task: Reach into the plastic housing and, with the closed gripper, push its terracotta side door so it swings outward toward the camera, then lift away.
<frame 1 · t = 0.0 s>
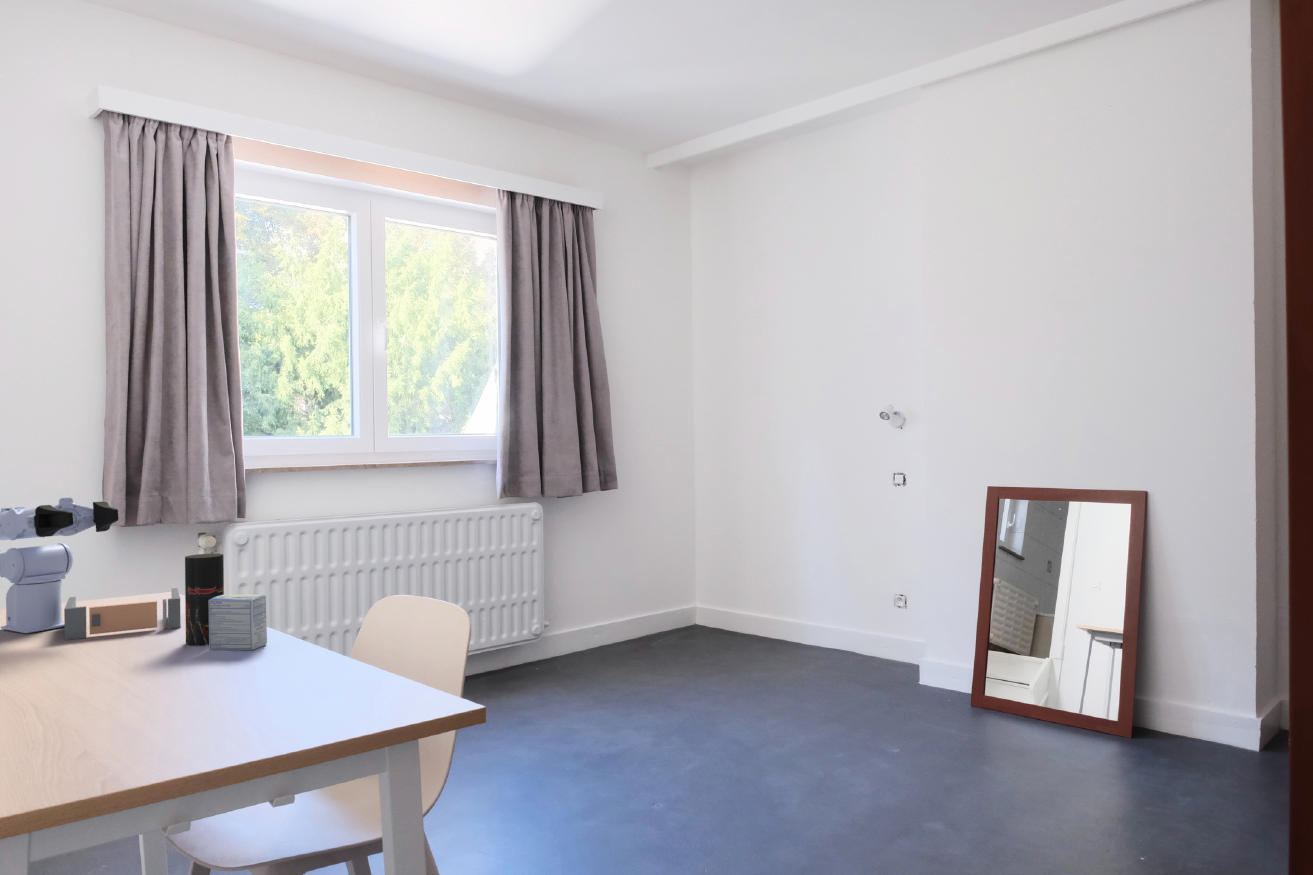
hand: (94, 516, 154), 22 cm above the table, tool horizontal, fingers open, 7 cm apart
medicine box: (238, 648, 146), on the table
housing: (124, 626, 163), on the table
door: (123, 617, 158), point 3 cm above the table, hinge at 0.0°
deodorant: (205, 643, 150), on the table
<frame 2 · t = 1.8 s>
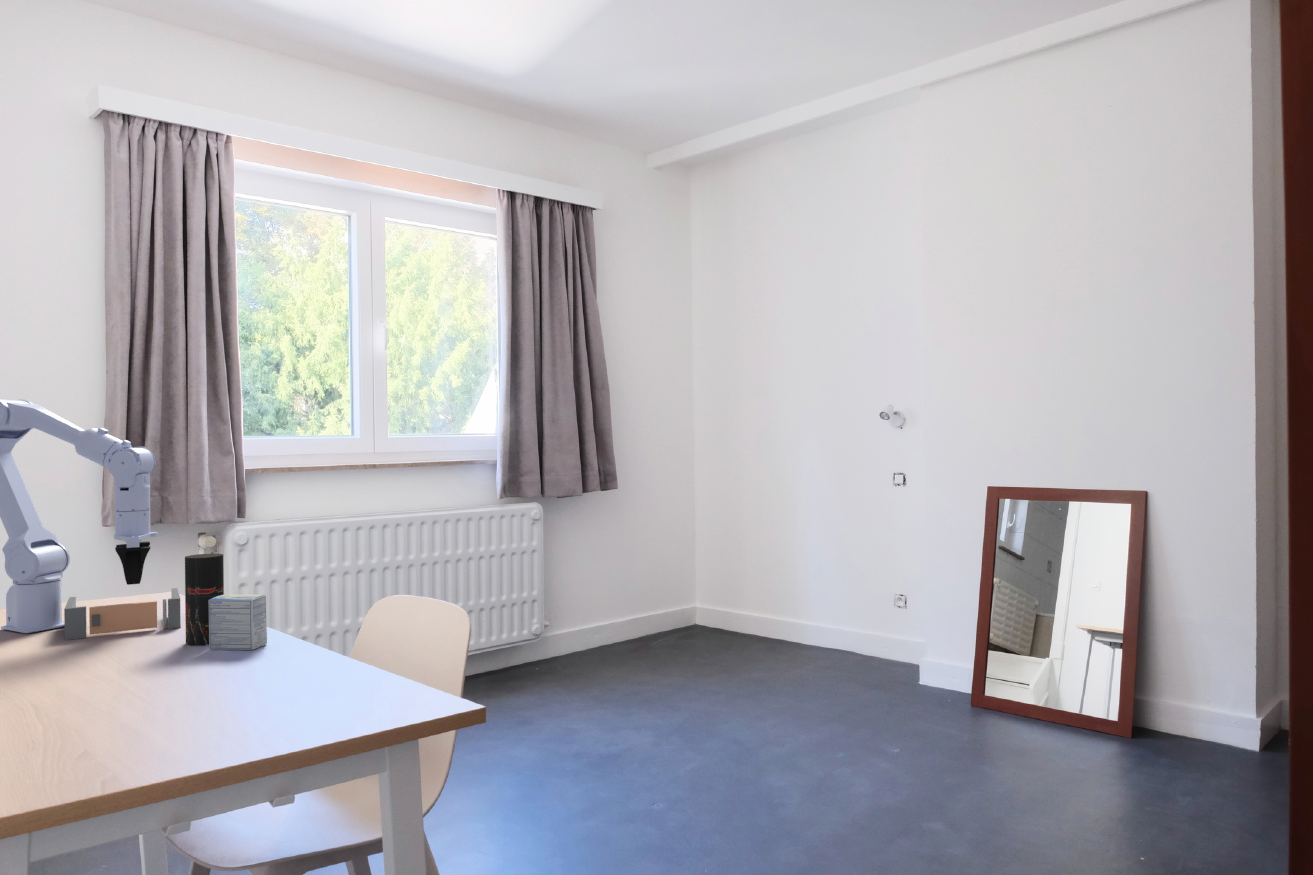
hand: (133, 582, 164), 8 cm above the table, tool pointing down, fingers open, 5 cm apart
nothing on the table moved.
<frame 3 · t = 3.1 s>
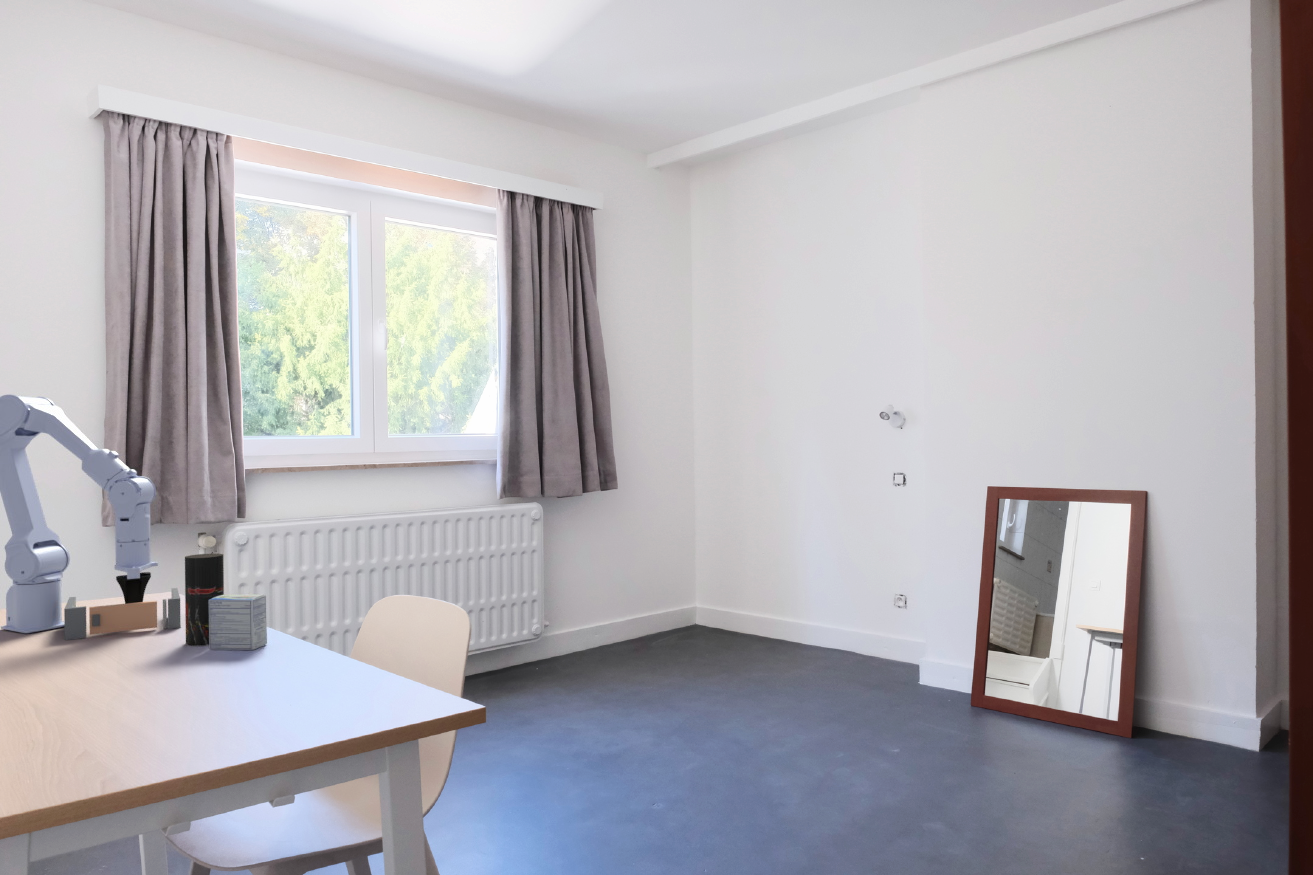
hand: (134, 612, 164), 3 cm above the table, tool pointing down, fingers closed
nothing on the table moved.
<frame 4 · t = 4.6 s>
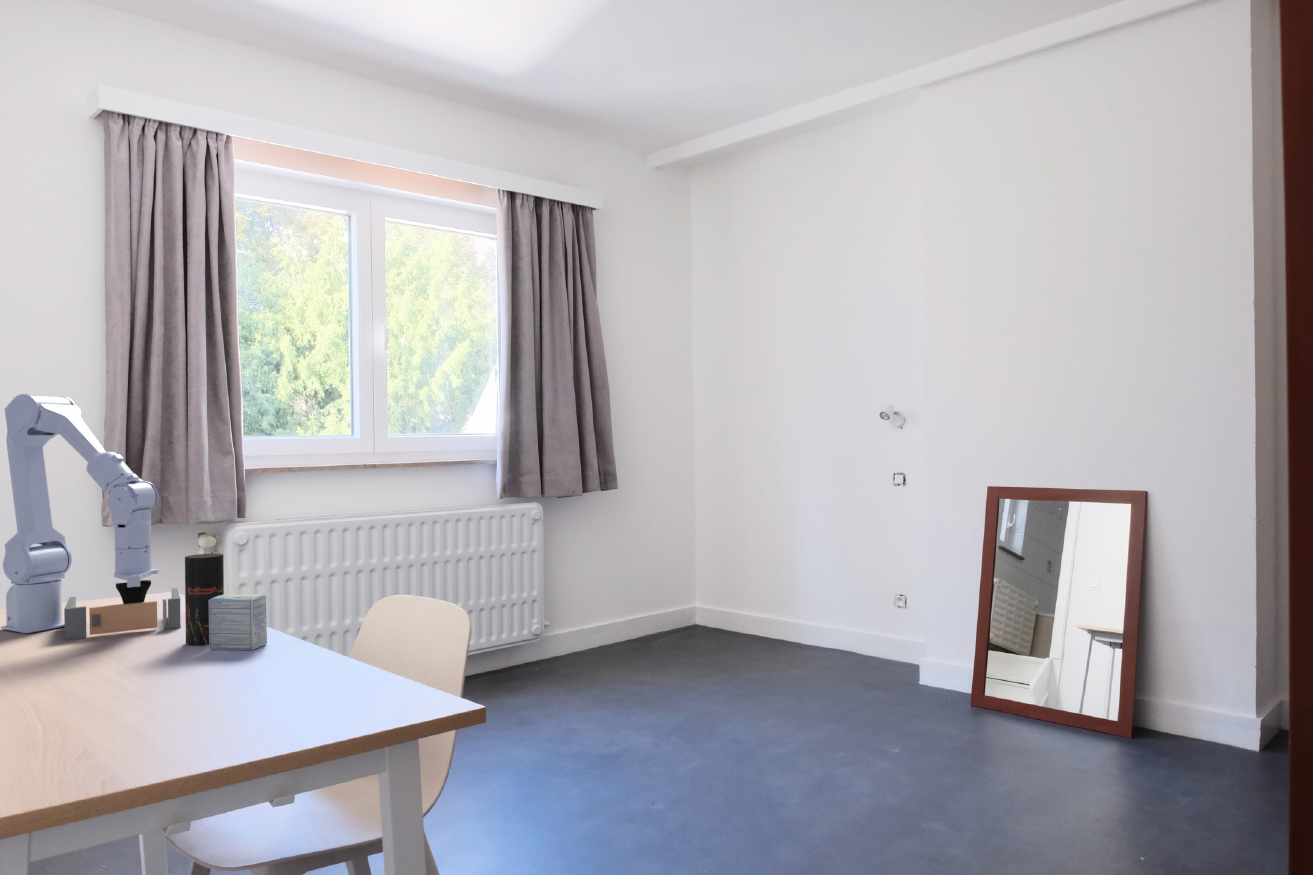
hand: (133, 620, 159), 2 cm above the table, tool pointing down, fingers closed, pressing on door
door: (123, 617, 157), point 3 cm above the table, hinge at 1.9°, touching gripper
everything else where it was.
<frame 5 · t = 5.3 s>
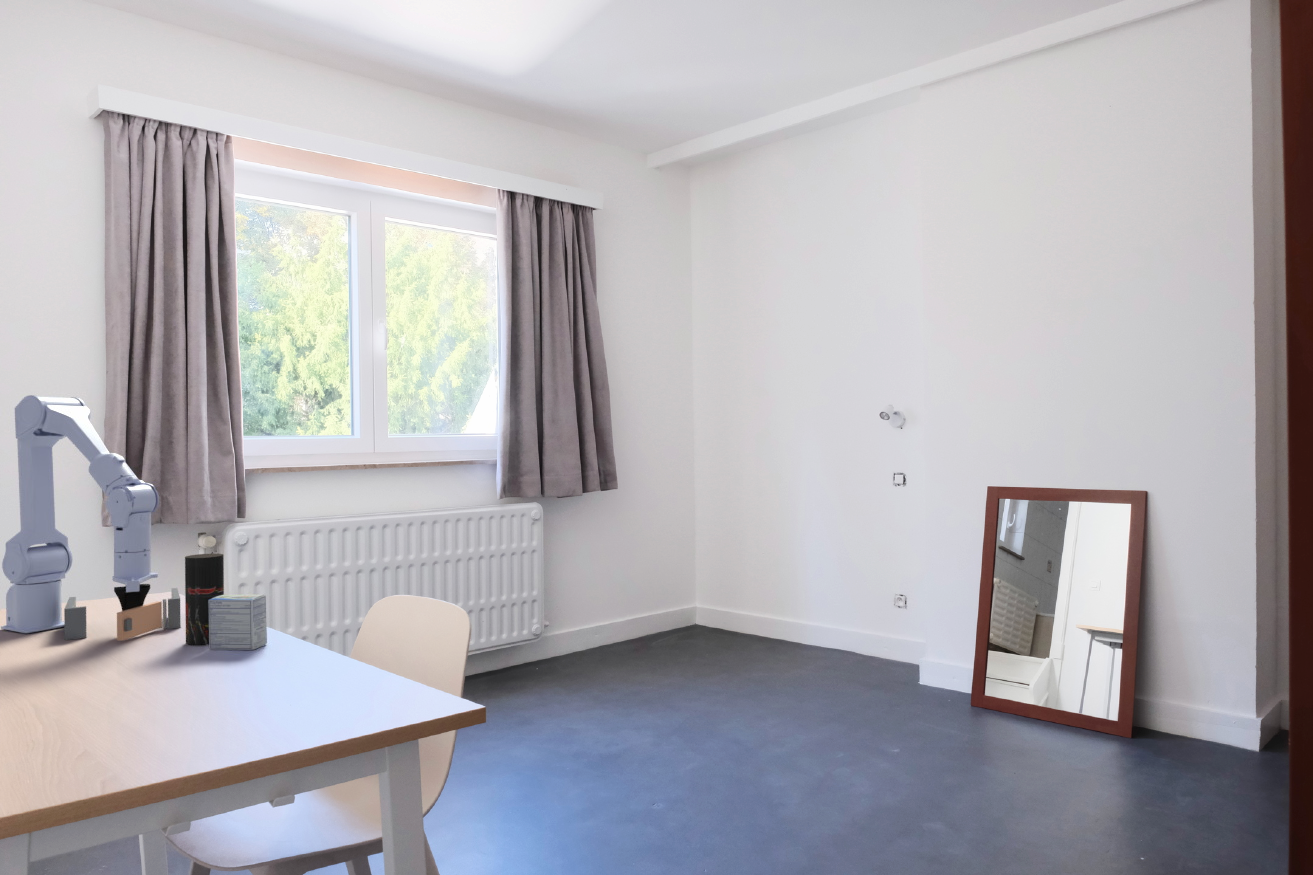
hand: (132, 625, 156), 2 cm above the table, tool pointing down, fingers closed, pressing on door
door: (141, 620, 155), point 3 cm above the table, hinge at 54.5°, touching gripper
everything else where it was.
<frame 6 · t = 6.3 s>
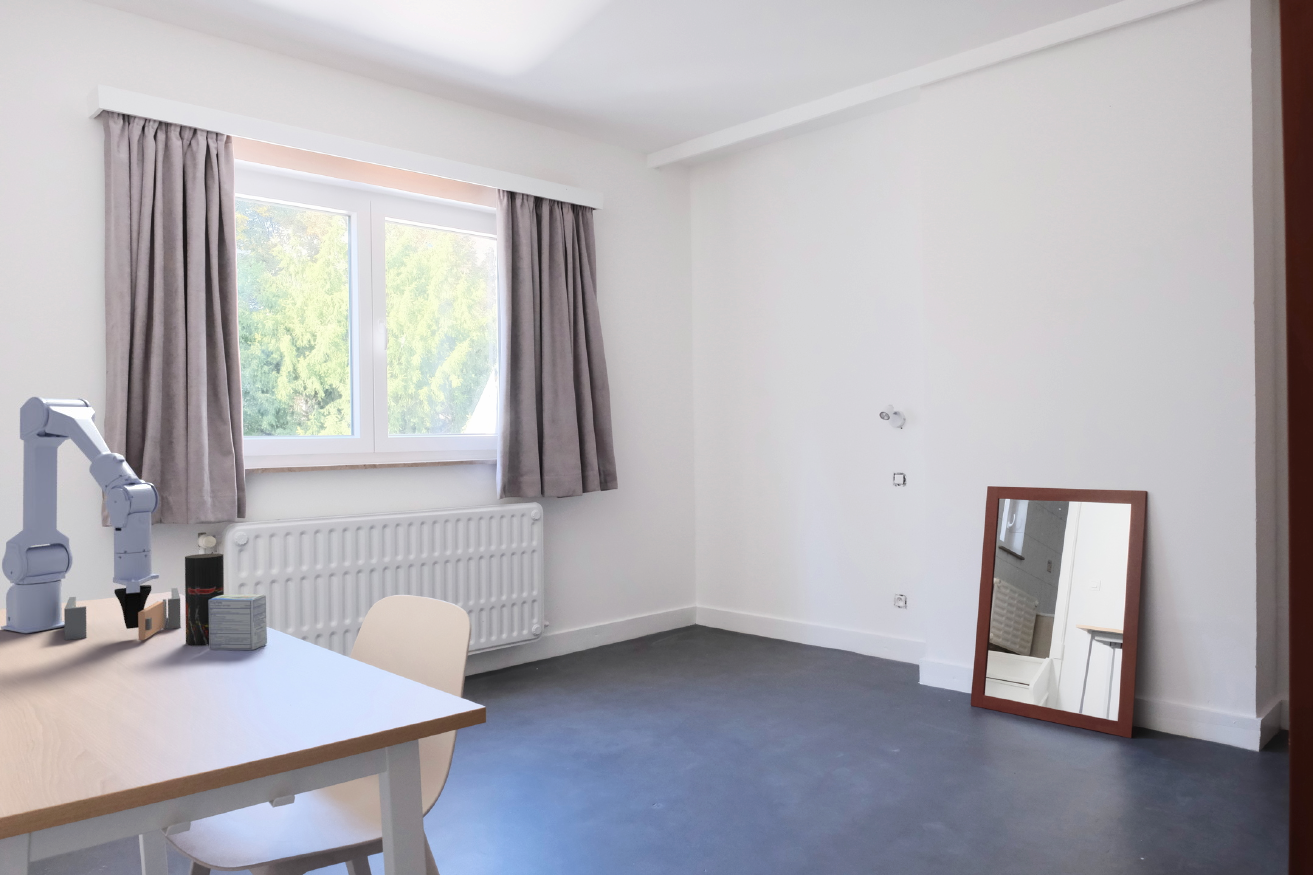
hand: (133, 627, 154), 2 cm above the table, tool pointing down, fingers closed
door: (153, 619, 155), point 3 cm above the table, hinge at 72.9°, touching gripper
everything else where it was.
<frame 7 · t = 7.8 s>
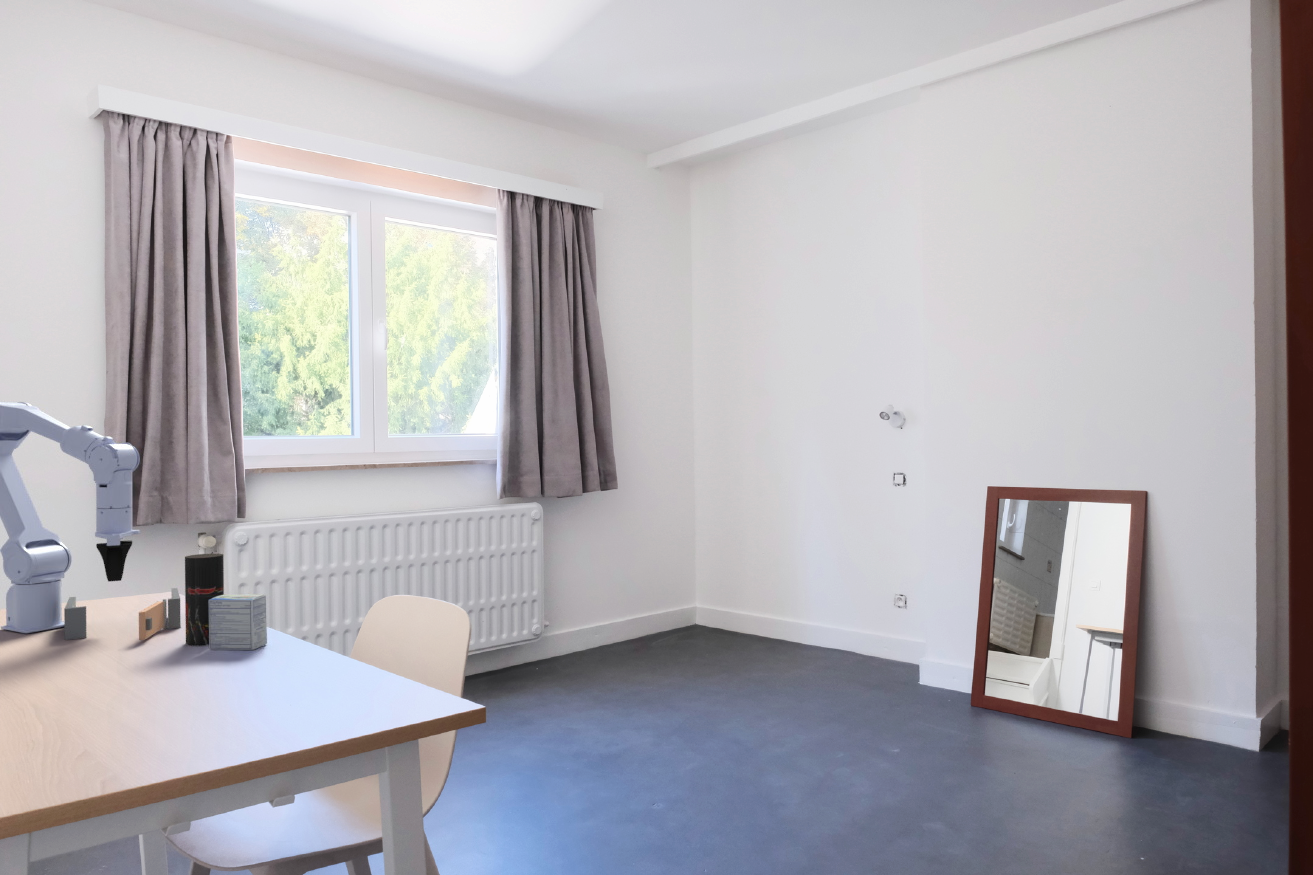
hand: (114, 580, 161), 9 cm above the table, tool pointing down, fingers closed
door: (153, 619, 155), point 3 cm above the table, hinge at 73.3°
everything else where it was.
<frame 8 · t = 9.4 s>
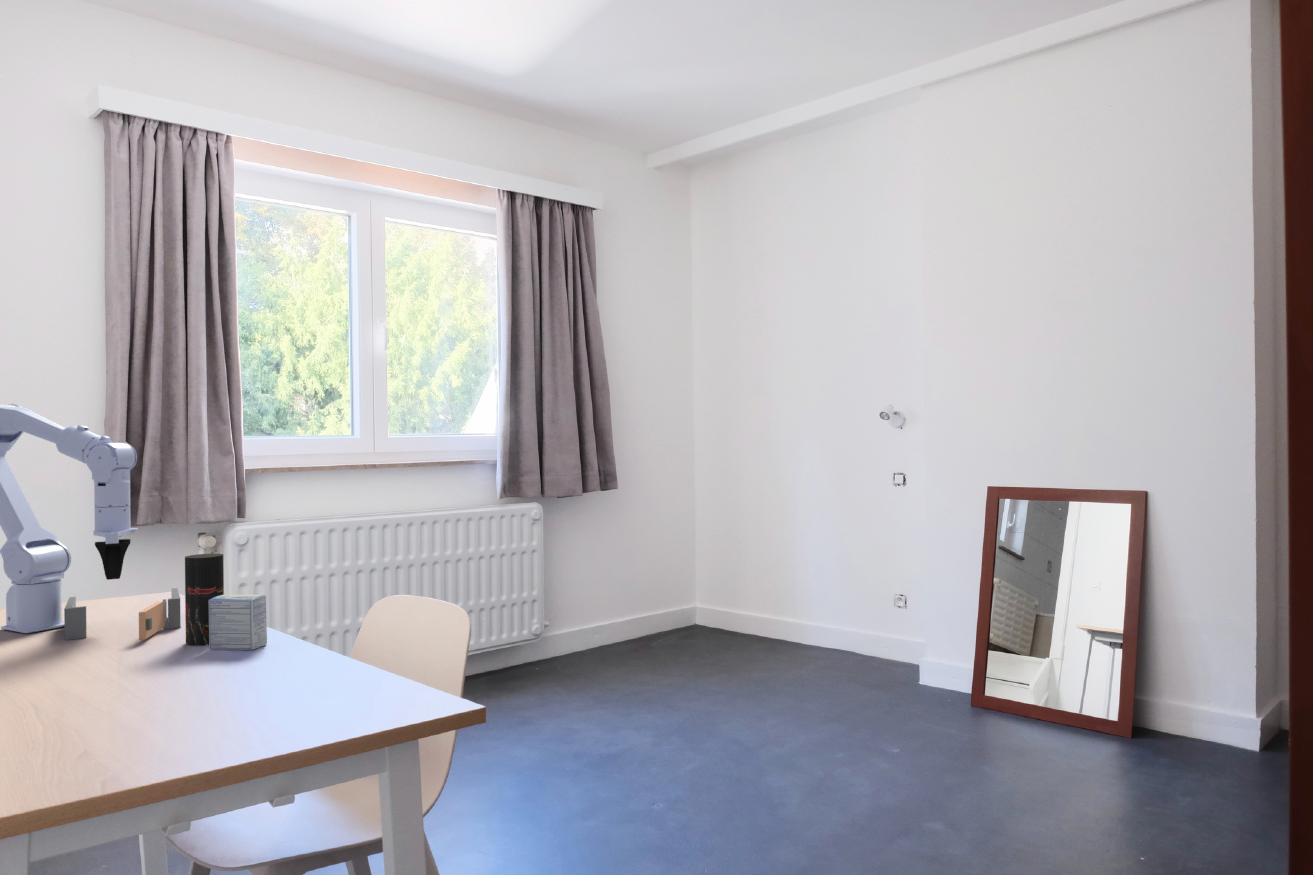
hand: (113, 578, 162), 9 cm above the table, tool pointing down, fingers closed
nothing on the table moved.
at the end: door at +73° (first picture: +0°) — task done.
